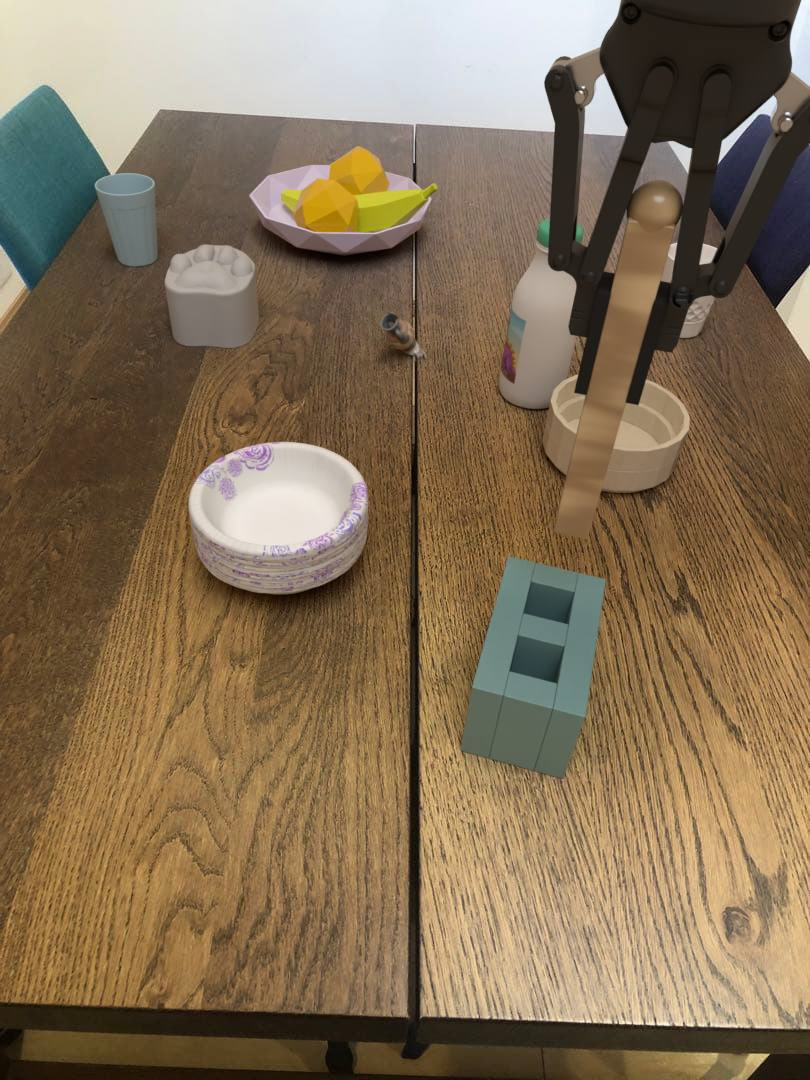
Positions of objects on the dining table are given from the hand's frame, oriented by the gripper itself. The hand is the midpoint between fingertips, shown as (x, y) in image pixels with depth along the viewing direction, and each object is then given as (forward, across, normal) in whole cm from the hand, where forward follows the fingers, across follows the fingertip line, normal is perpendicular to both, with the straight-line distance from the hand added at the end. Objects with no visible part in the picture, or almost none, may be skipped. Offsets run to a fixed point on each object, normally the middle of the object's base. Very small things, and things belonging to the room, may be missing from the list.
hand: (608, 386), depth 50 cm
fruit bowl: (+27, -41, +71) cm, 86 cm away
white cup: (+27, +9, +62) cm, 68 cm away
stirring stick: (+12, 0, 0) cm, 12 cm away
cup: (+27, -66, +53) cm, 89 cm away
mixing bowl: (+27, +3, +30) cm, 40 cm away
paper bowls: (+27, -24, +4) cm, 36 cm away
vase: (+27, -24, +41) cm, 55 cm away
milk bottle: (+27, -7, +39) cm, 48 cm away
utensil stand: (+27, 0, -4) cm, 27 cm away
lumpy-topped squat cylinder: (+27, -48, +41) cm, 69 cm away
